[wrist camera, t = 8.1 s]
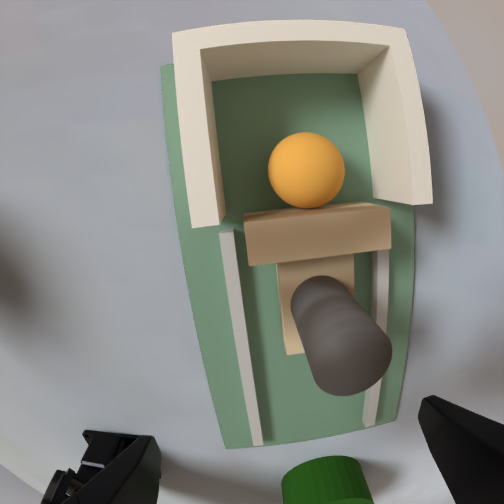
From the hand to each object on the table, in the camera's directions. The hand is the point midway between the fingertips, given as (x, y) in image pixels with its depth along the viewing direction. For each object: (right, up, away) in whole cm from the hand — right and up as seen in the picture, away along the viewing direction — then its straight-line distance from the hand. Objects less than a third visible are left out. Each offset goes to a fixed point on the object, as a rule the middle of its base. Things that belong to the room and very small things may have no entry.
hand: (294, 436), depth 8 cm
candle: (+6, -17, +16) cm, 24 cm away
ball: (+1, +10, +7) cm, 12 cm away
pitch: (+2, +5, +11) cm, 12 cm away
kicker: (+2, +4, +10) cm, 11 cm away
